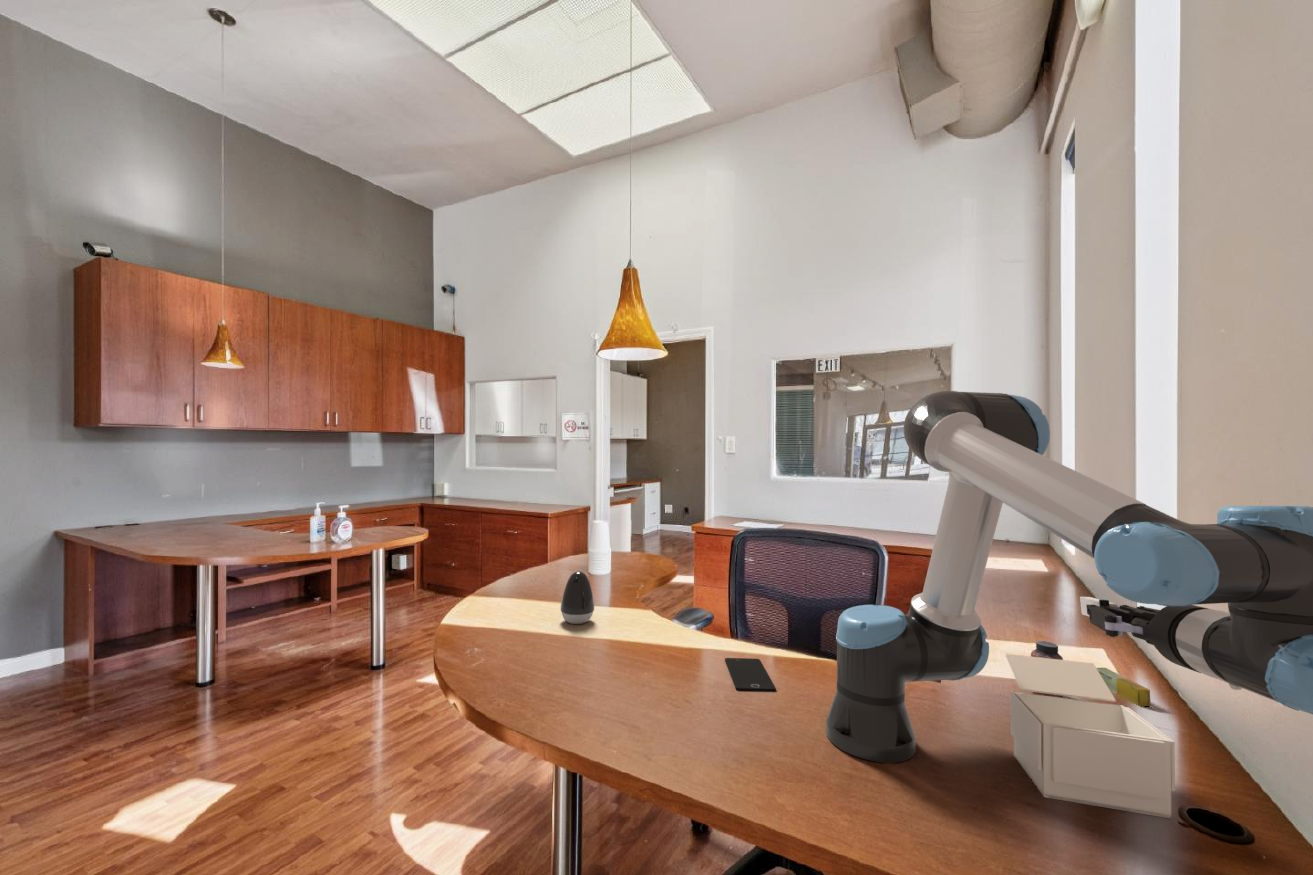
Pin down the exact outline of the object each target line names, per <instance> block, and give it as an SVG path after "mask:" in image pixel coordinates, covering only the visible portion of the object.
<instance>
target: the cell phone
mask: <svg viewBox="0 0 1313 875" xmlns="http://www.w3.org/2000/svg"><path fill="white" fill-rule="evenodd" d="M724 662H725V665H726V667H727V670H728V672H729V675H730V678H731V681H732V683H733V686H734V688H735V691H738V692H776V691H777V688H776V686H775V684H774V682H773V680H772V679H771V677H770V675H769V673H768V671H767V669H766V668H765V666H764V664H763V663H762V661H761V659H760V658H746V657H745V658H743V657H741V658H740V657H739V658H738V657H725V658H724Z"/></svg>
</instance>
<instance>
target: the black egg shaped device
mask: <svg viewBox="0 0 1313 875" xmlns="http://www.w3.org/2000/svg"><path fill="white" fill-rule="evenodd" d="M560 612H561V616H562V618H563V619H564V621H565V622H567V623H569V624H571V625H582V624H583V625H584V624H585V623H587V622H588V621H590V619H591V618H592V617H593V614H594V612H595V600H594V593H593V590H592V585H591V581H590V579H589V578H588V576H587V574H586V573H585V572H583V571H579V570H577V571H575V572H573V573H572V574H571V575H570V576H569V578H568V580H567V582H566V584H565V587H564V591H563V594H562V598H561V603H560Z"/></svg>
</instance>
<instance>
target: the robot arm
mask: <svg viewBox="0 0 1313 875" xmlns="http://www.w3.org/2000/svg"><path fill="white" fill-rule="evenodd" d="M1049 424H1050V423H1049V421H1048V418H1047V416H1046V415H1045V414H1043V410H1042V409H1041V407H1040V406H1039V405H1038V404H1037V403H1036V402H1034V401H1033V400H1031V399H1029V398H1028V397H1024V396H1020V395H1014V394H1008V393H1002V392H978V391H977V392H976V391H957V390H942V391H936V392H933V393H930V394H927V395H925V396H924V397H922V398H920V399H919V400H917V401H916V402H915V403H914V404H913V405H912V406H911V408H910V409H909V410H908V411H907V414H906V416H905V418H904V423H903V435H904V441H905V442H906V444H907V446H908V448H909V449H910V451H911V452H912V453H913V454H914V455H915V456H916V457H917V458H918V459H920V460H921V461H922V462H924V463H926V464H927V465H929V466H930V467H932V468H934V469H935V470H937V471H940V472H942V473H943V472H945V473H949V481H948V483H947V487H946V488H947V489H946V492H945V496H944V501H943V506H942V509H941V513H940V517H939V518H940V519H939V522H938V525H937V530H936V533H935V534H936V535H935V538H934V543H933V547H932V551H931V555H930V559H929V564H928V568H927V573H926V577H925V581H924V585H923V588H922V589H923V590H922V592H920V593H918V594H915V595H914V596H913V597H911V600H910V604H909V609H908V612H907V614H905V613H904V612H903V611H902V610H901V609H899V608H897V607H893V606H890V605H884V604H882V605H881V604H879V605H875V604H863V605H856V606H851V607H849V608H847V609H844V610H843V611H842V613H840V615H839V617H838V620H837V629H836V634H835V638H836V639H835V640H836V690H835V694H834V697H833V699H832V702H831V704H830V708H829V711H828V714H827V716H826V720H825V726H826V727H825V734H826V737H827V739H828V740H829V741H830V742H831V743H832V744H833V745H834V746H835V747H836V748H838V749H840V750H841V751H843V752H845V753H846V754H849V755H851V756H854V757H856V758H860V759H862V760H867V761H871V762H877V763H887V764H888V763H890V764H891V763H900V762H901V763H902V762H905V761H908V760H910V759H911V758H912V757H914V755H915V754H916V734H915V732H914V728H913V724H912V722H911V719H910V716H909V713H908V709H907V707H906V700H905V698H906V695H905V694H906V683H910V682H929V681H931V682H932V681H934V682H935V681H960V680H962V679H967V678H972V677H974V676H976V675H977V674H979V673H981V672H982V670H983V669H984V668H985V666H986V665H987V663H988V659H989V655H990V643H989V642H987V641H986V639H987V638H988V634H987V632H986V630H985V628H984V626H983V625H982V624H981V623H982V620H981V617H980V616H979V614H978V613H977V612H976V610H975V608H976V605H977V600H978V597H979V593H980V589H981V585H982V581H983V578H984V574H985V572H986V566H987V563H988V559H989V555H990V552H991V549H992V544H993V540H994V538H995V537H994V536H995V533H996V529H997V526H998V524H999V523H998V522H999V519H1000V514H1001V510H1002V506H1003V504H1005V505H1006V506H1008V507H1009V508H1011V509H1013V510H1014V511H1016V512H1018V513H1019V514H1021V515H1023V516H1024V517H1026V518H1027V519H1029V520H1031V521H1032V522H1034V523H1035V524H1037V525H1039V526H1040V527H1041V528H1044V529H1045V530H1047V531H1048V532H1050V533H1052V534H1053V535H1055V536H1056V537H1059V539H1062V540H1063V541H1065V542H1066V543H1068V544H1069V545H1071V546H1072V547H1074V548H1076V549H1077V550H1079V551H1081V552H1082V553H1084V554H1086V555H1088V556H1089V557H1091V559H1093V560H1094V564H1095V568H1096V570H1097V572H1098V575H1100V576H1101V578H1103V581H1104V582H1105V583H1106V586H1107V587H1108V588H1109V589H1110V590H1111V591H1113V592H1114V593H1115V594H1117V595H1118V596H1120V597H1122V598H1124V599H1125V600H1128V601H1131V602H1134V603H1138V604H1146V605H1157V606H1163V608H1161V609H1156V608H1151V607H1146V606H1143V605H1139V606H1136V607H1133V606H1130V605H1127V604H1122V605H1119V606H1118V604H1117V603H1113V602H1111V601H1110V600H1109V599H1100V598H1095V597H1091V596H1079V600H1080V612H1081V615H1083V616H1087V617H1089V623H1091V624H1092V625H1093V626H1095V627H1098V629H1100V630H1102V631H1104V632H1105V635H1106V636H1109V637H1110V638H1115V637H1118V636H1124V632H1127V633H1131V636H1133V637H1134V638H1137V639H1139V640H1143V641H1145V643H1147V644H1148V645H1151V646H1153V647H1154V648H1155V649H1156V650H1157V651H1158V653H1159V654H1160V655H1161V656H1162V657H1164V658H1165V659H1166V660H1167V661H1169V662H1171V663H1173V664H1174V665H1178V666H1180V667H1182V668H1185V669H1188V670H1191V671H1193V672H1196V673H1200V674H1203V675H1205V676H1208V677H1211V678H1213V679H1216V680H1219V681H1222V682H1224V683H1227V684H1228V685H1229V688H1231V689H1232V690H1235V691H1239V690H1241V691H1242V689H1244V690H1246V691H1248V692H1252V693H1254V694H1257V695H1258V696H1261V697H1264V698H1267V699H1269V700H1272V701H1274V702H1277V703H1280V704H1281V705H1283V706H1284V707H1285V708H1286V707H1287V708H1289V709H1292V710H1294V711H1301V712H1304V713H1307V714H1311V715H1313V506H1307V505H1306V506H1305V505H1225V506H1223V507H1221V508H1220V509H1218V511H1217V514H1216V515H1217V520H1216V521H1217V523H1214V524H1213V523H1212V524H1211V523H1210V524H1209V523H1207V524H1206V523H1205V524H1203V523H1198V524H1197V523H1188V522H1185V521H1182V520H1180V519H1178V518H1175V517H1174V516H1170V515H1169V514H1168V513H1165V512H1162V511H1160V510H1158V509H1155V508H1154V507H1151V506H1149V505H1147V504H1146V503H1144V502H1142V501H1139V500H1137V499H1136V498H1133V497H1131V496H1130V495H1127V494H1125V493H1123V492H1121V491H1118V490H1117V489H1115V488H1112V487H1110V486H1108V485H1106V484H1104V483H1102V482H1099V481H1098V480H1095V479H1093V478H1091V477H1090V476H1087V475H1085V474H1083V473H1081V472H1078V471H1076V470H1074V469H1072V468H1070V467H1068V466H1066V465H1064V464H1062V463H1060V462H1057V461H1055V460H1053V459H1051V458H1049V457H1047V456H1045V455H1044V454H1045V453H1046V451H1047V449H1048V447H1049V443H1050V438H1051V433H1050V432H1051V431H1050V429H1051V428H1050V425H1049ZM1213 604H1214V605H1215V604H1227V609H1228V611H1222V610H1219V609H1213V608H1207V607H1202V606H1197V605H1213Z"/></svg>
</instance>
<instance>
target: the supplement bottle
mask: <svg viewBox="0 0 1313 875" xmlns="http://www.w3.org/2000/svg"><path fill="white" fill-rule="evenodd" d="M1030 656H1031V657H1040V658H1049V659H1058V660H1064V659H1063V658H1064V657H1063V656H1062V655H1060V654H1059V645H1058V644H1056V643H1054V642H1051V641H1046V640H1037V641H1036V642H1035V649H1033V650H1032V651H1031V652H1030ZM1032 693H1033V694H1035V695H1043V696H1051V697H1059V698H1064V696H1062V695H1054V694H1046V693H1037V692H1032Z"/></svg>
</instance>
